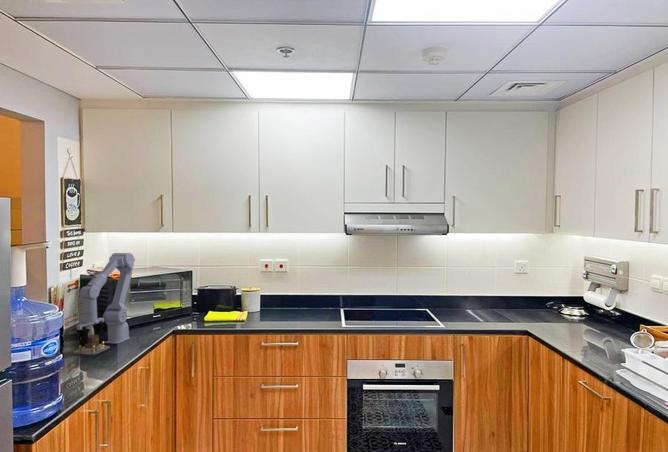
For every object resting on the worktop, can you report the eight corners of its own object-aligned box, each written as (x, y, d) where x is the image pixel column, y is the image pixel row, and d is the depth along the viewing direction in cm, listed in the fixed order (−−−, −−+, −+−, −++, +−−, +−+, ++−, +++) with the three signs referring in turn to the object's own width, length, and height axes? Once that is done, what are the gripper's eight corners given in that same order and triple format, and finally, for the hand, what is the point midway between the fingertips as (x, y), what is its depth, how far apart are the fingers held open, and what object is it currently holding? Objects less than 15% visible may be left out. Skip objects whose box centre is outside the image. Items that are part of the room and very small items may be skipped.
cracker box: (82, 333, 239) (80, 294, 238) (95, 331, 241) (93, 293, 240) (79, 340, 226) (77, 299, 225) (92, 338, 228) (90, 297, 228)
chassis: (90, 347, 214) (89, 339, 213) (109, 347, 211) (109, 340, 211) (73, 353, 204) (73, 346, 204) (94, 354, 201) (93, 347, 201)
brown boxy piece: (90, 345, 212) (89, 333, 212) (106, 346, 210) (106, 333, 210) (77, 351, 205) (76, 338, 204) (94, 351, 202) (93, 338, 202)
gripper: (85, 316, 199) (86, 346, 199) (108, 308, 213) (110, 336, 214) (72, 315, 200) (73, 345, 201) (96, 308, 215) (97, 336, 215)
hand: (91, 341), depth 207 cm, fingers open, 7 cm apart
